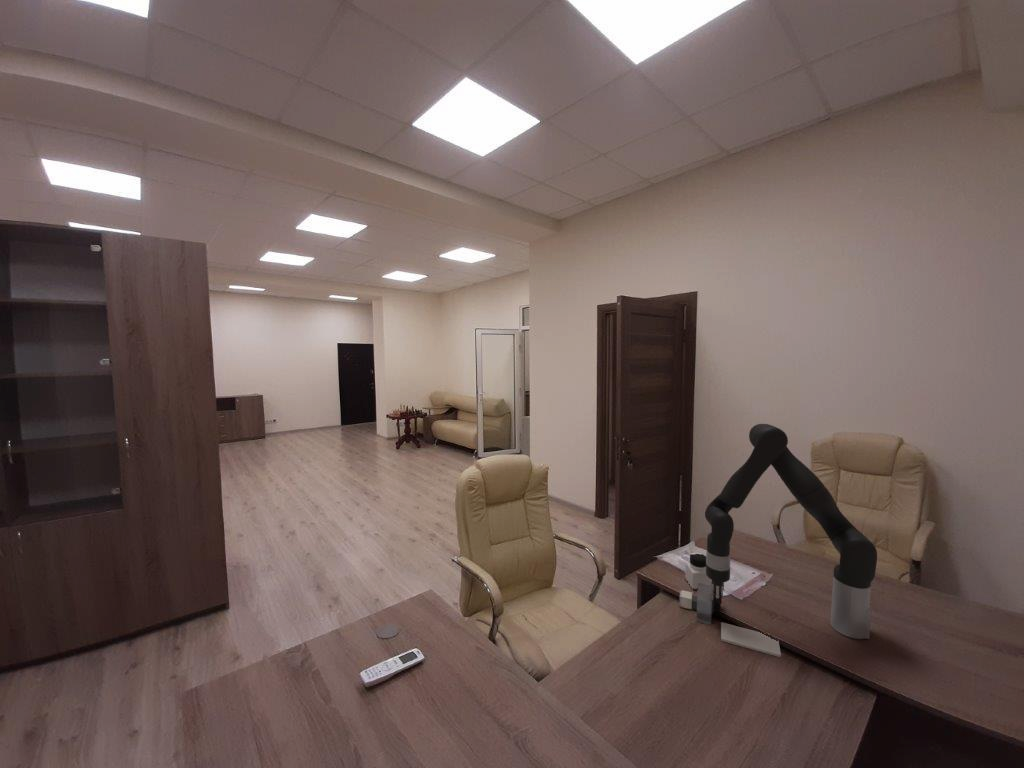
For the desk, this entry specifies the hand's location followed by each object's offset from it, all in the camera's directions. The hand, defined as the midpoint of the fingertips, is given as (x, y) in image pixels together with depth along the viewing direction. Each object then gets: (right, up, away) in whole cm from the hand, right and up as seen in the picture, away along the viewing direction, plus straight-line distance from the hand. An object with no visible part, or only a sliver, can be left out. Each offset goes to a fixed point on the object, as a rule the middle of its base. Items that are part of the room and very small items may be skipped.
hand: (717, 609), depth 140 cm
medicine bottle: (+1, +1, +16) cm, 17 cm away
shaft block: (-4, -1, +2) cm, 4 cm away
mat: (+4, -3, -12) cm, 13 cm away
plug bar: (-6, -1, +3) cm, 7 cm away
